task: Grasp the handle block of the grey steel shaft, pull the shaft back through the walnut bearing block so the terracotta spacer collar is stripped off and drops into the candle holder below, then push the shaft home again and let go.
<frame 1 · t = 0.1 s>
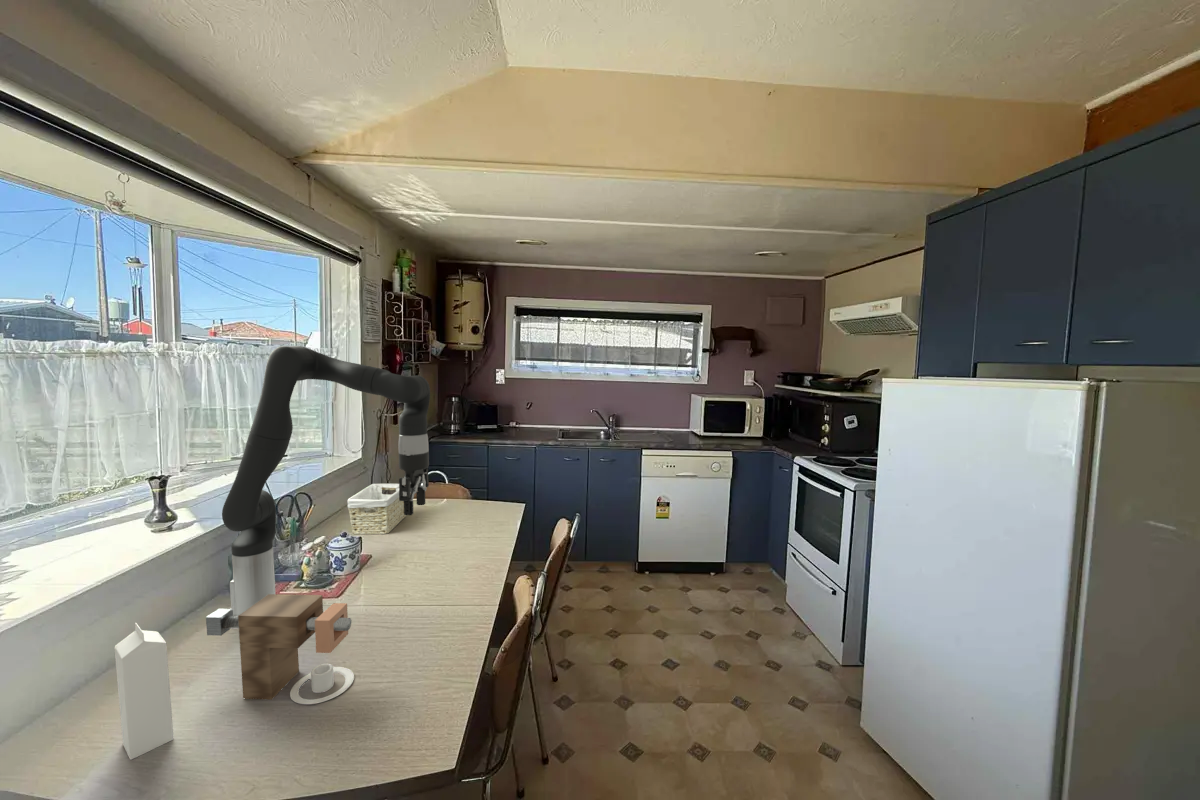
hand: (415, 509, 133), 29 cm above the table, fingers open, 8 cm apart
spacer: (332, 642, 105), point 10 cm above the table, touching shaft
storage basket: (380, 525, 204), on the table
bearing block: (286, 685, 106), on the table
shaft: (280, 622, 105), point 14 cm above the table, slide at 0.0 cm, touching spacer
candle holder: (323, 688, 106), on the table
milk: (148, 742, 90), on the table
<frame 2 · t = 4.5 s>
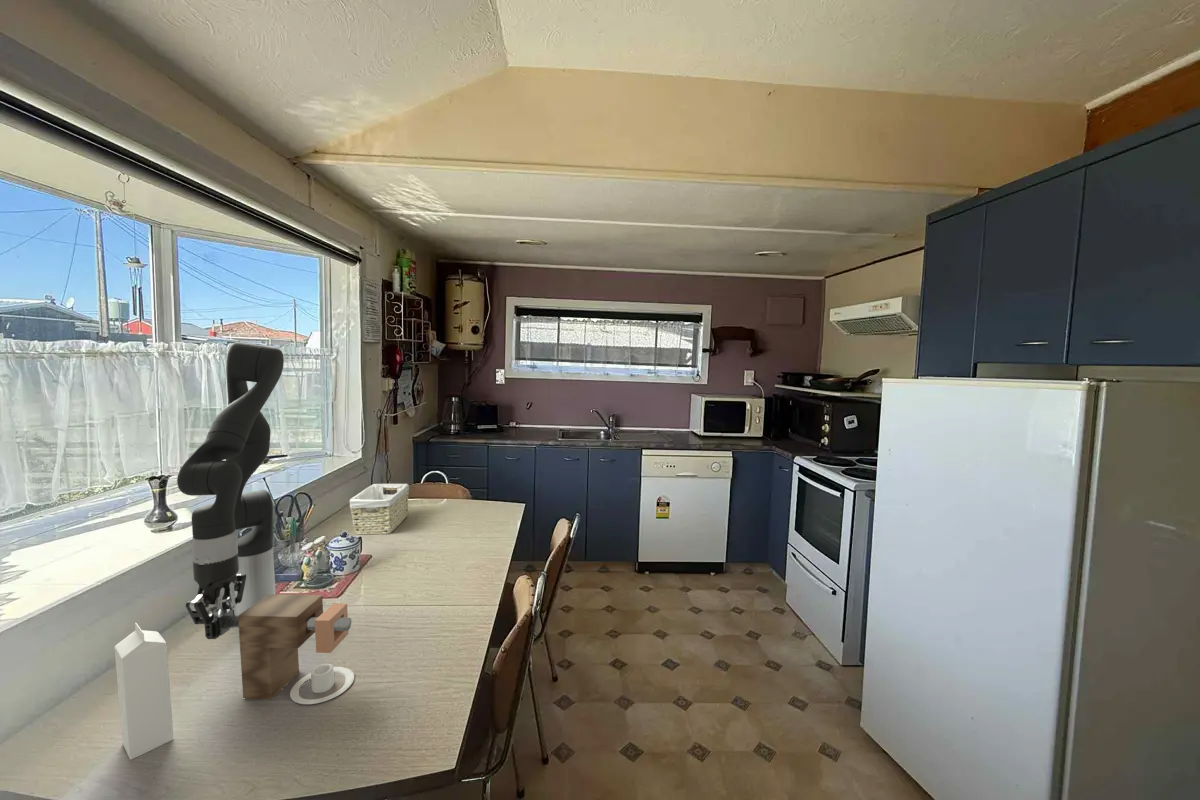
hand: (220, 632, 105), 12 cm above the table, fingers closed on shaft, 3 cm apart
shaft: (280, 622, 105), point 14 cm above the table, slide at 0.0 cm, touching gripper, spacer
everything else where it was.
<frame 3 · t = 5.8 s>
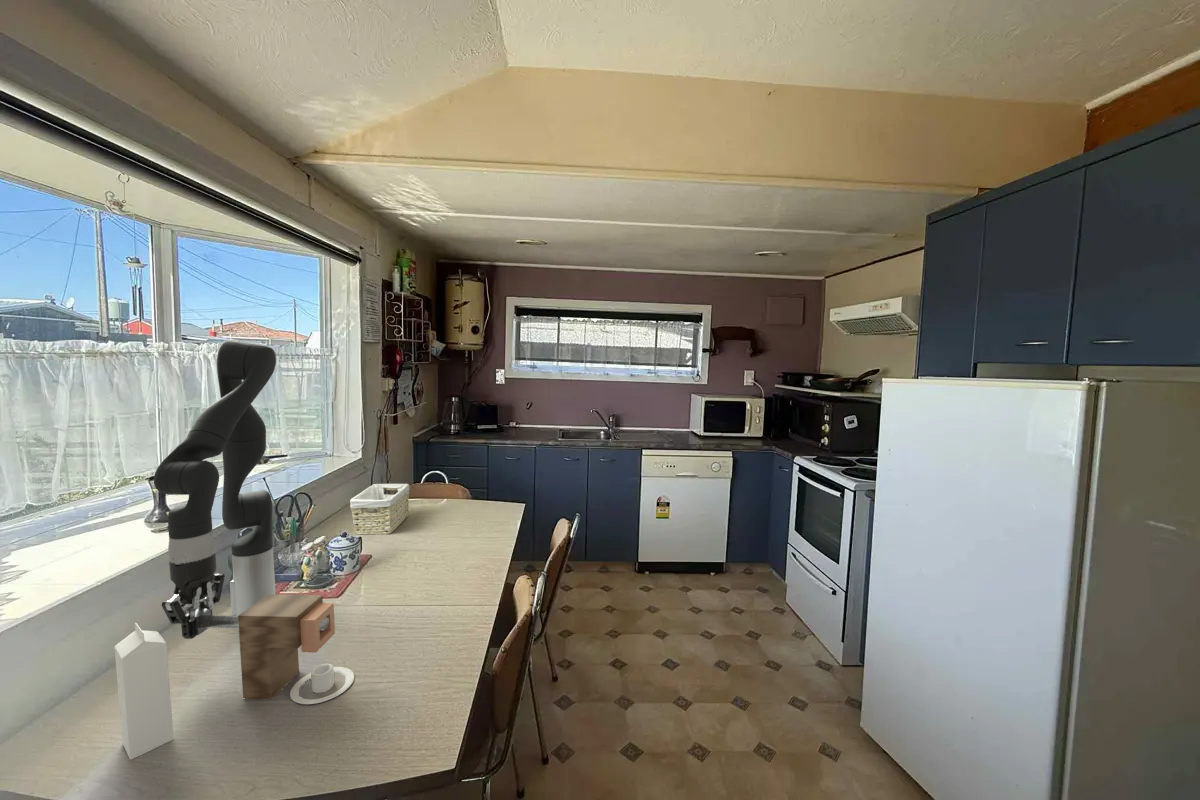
hand: (198, 631, 105), 12 cm above the table, fingers closed on shaft, 3 cm apart
spacer: (318, 642, 105), point 10 cm above the table
shaft: (258, 622, 105), point 14 cm above the table, slide at 4.9 cm, touching gripper
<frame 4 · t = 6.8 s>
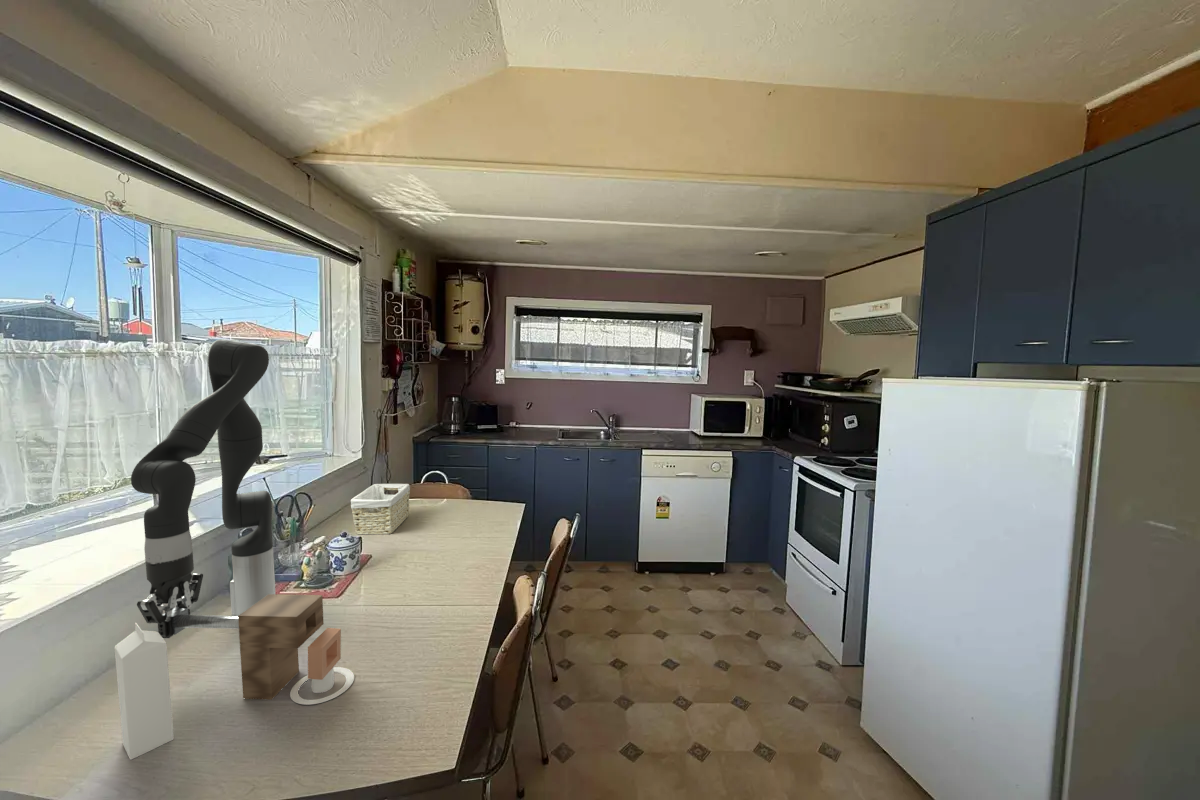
hand: (175, 631, 105), 12 cm above the table, fingers closed on shaft, 3 cm apart
spacer: (324, 668, 106), point 4 cm above the table
shaft: (234, 622, 105), point 14 cm above the table, slide at 9.8 cm, touching gripper
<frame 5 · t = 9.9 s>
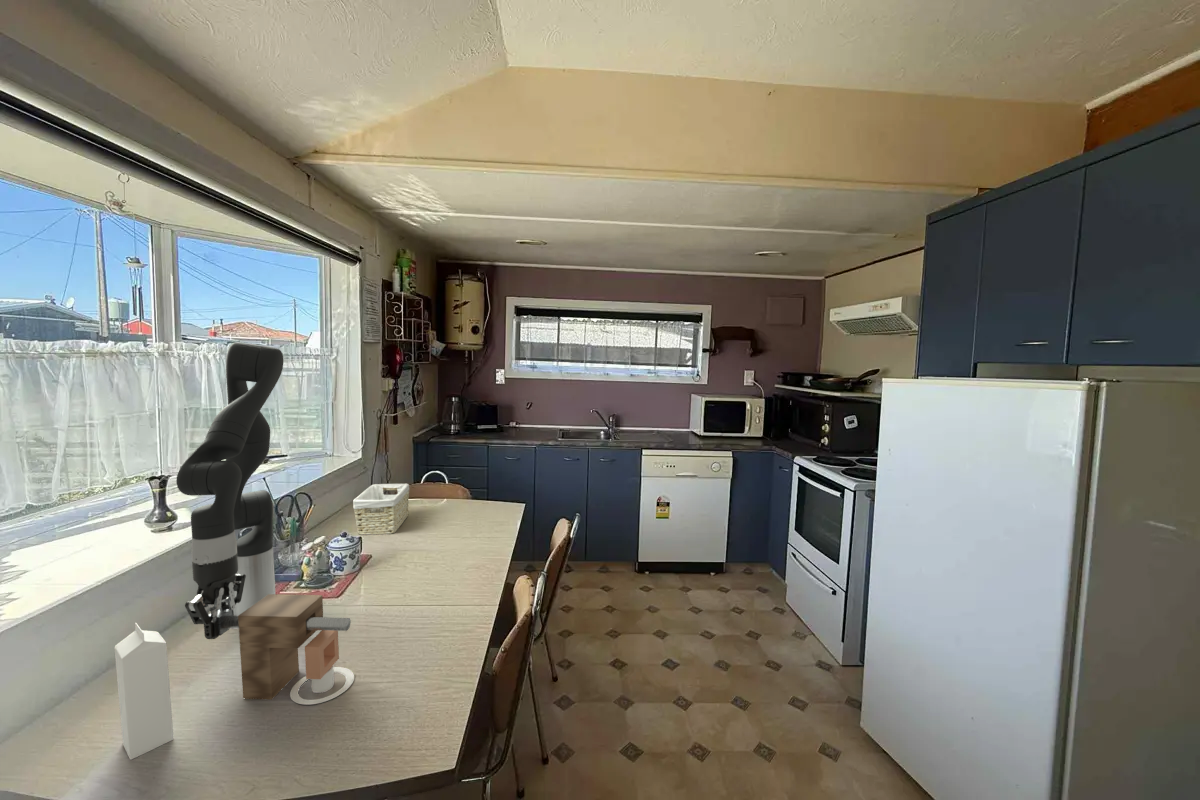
hand: (219, 632, 105), 12 cm above the table, fingers closed on shaft, 3 cm apart
spacer: (323, 668, 106), point 4 cm above the table, touching candle holder
shaft: (279, 622, 105), point 14 cm above the table, slide at 0.2 cm, touching gripper
candle holder: (323, 688, 106), on the table, touching spacer
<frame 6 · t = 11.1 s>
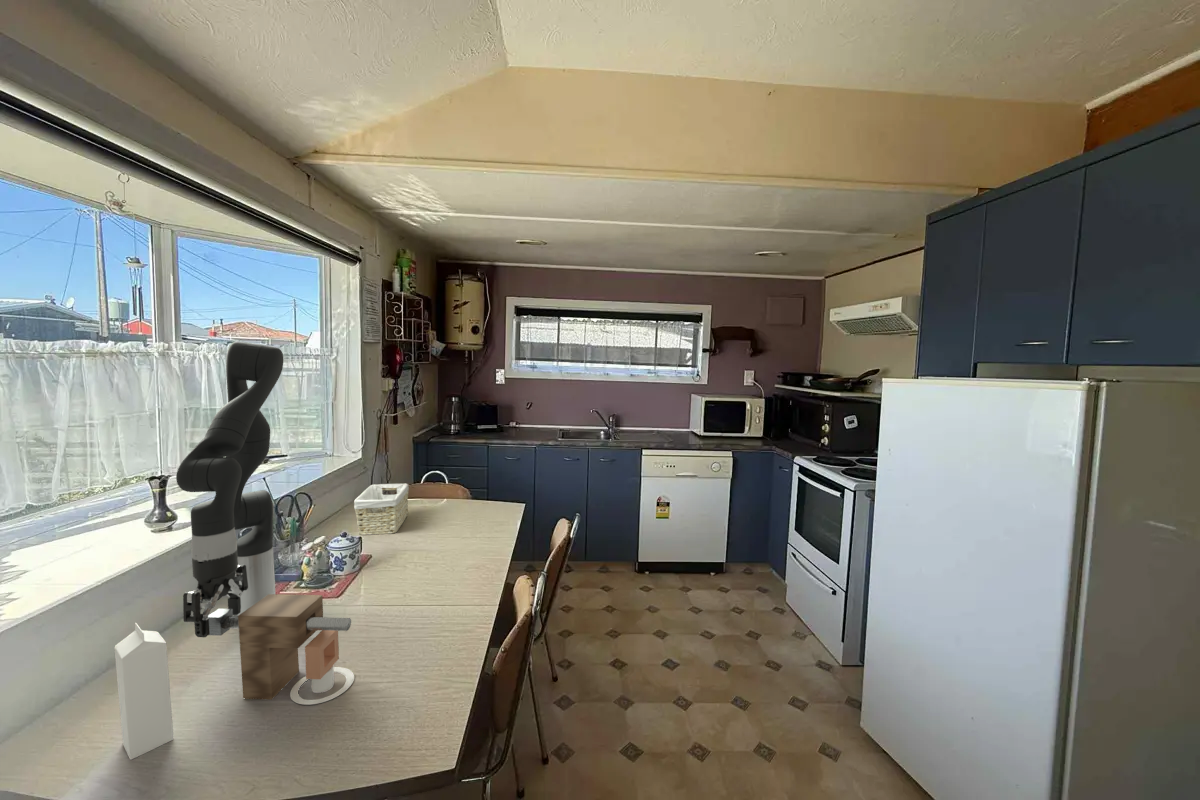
hand: (219, 624, 105), 13 cm above the table, fingers open, 8 cm apart
spacer: (323, 668, 106), point 4 cm above the table
shaft: (280, 622, 105), point 14 cm above the table, slide at 0.1 cm
candle holder: (323, 688, 106), on the table
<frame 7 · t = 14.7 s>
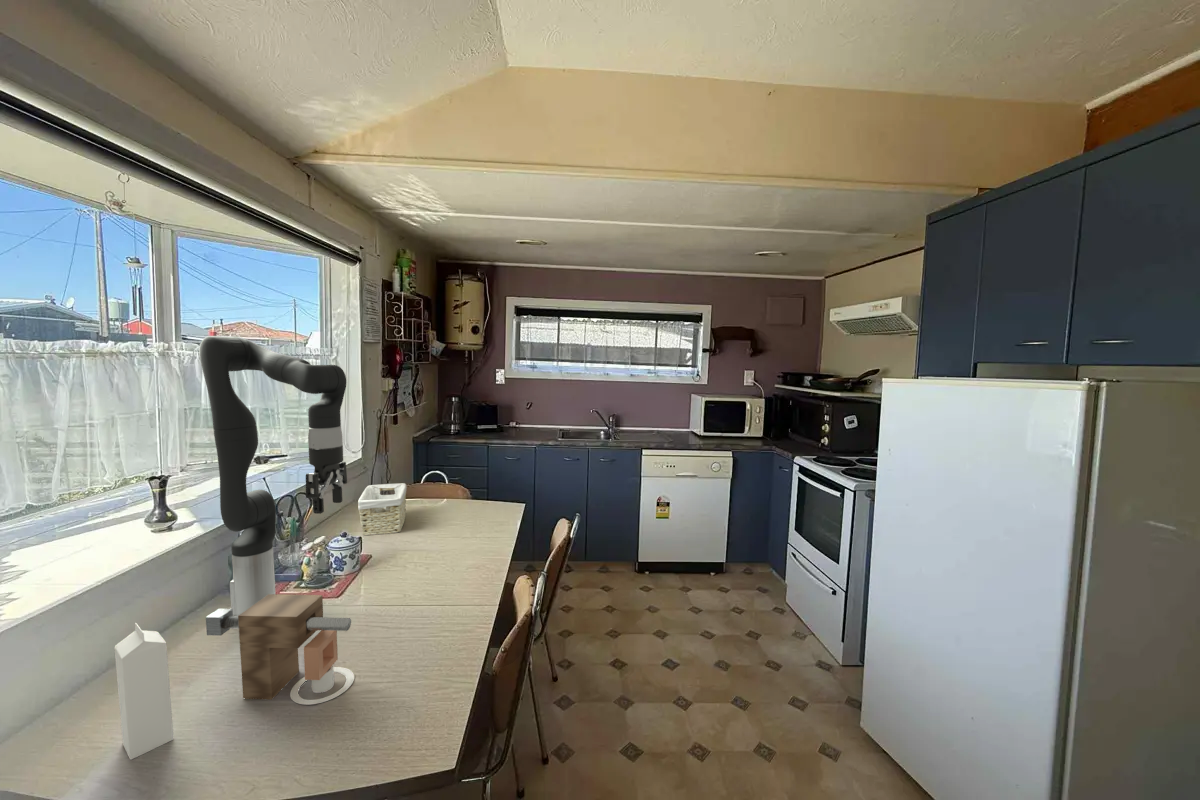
hand: (328, 507, 125), 32 cm above the table, fingers open, 8 cm apart
spacer: (321, 669, 106), point 4 cm above the table, touching candle holder
candle holder: (323, 688, 106), on the table, touching spacer
at the end: spacer touching candle holder; spacer 0.1 cm from the candle holder (horizontally); shaft slide at 0.1 cm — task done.
